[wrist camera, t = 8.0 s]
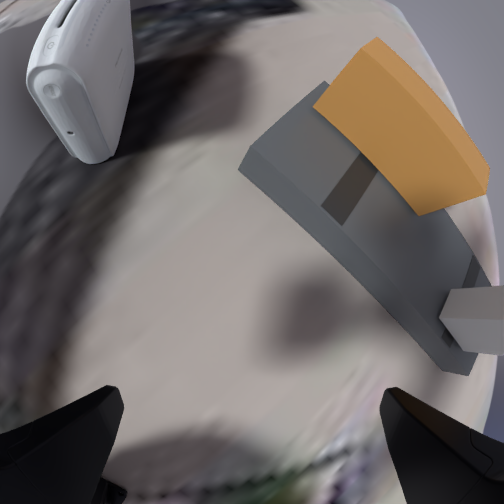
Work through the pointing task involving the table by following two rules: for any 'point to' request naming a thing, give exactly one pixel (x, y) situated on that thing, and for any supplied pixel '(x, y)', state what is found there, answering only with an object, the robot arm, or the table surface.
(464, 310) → the white slider
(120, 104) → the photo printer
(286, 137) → the switch box
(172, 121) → the table surface
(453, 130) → the orange slider
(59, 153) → the table surface
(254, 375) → the table surface
